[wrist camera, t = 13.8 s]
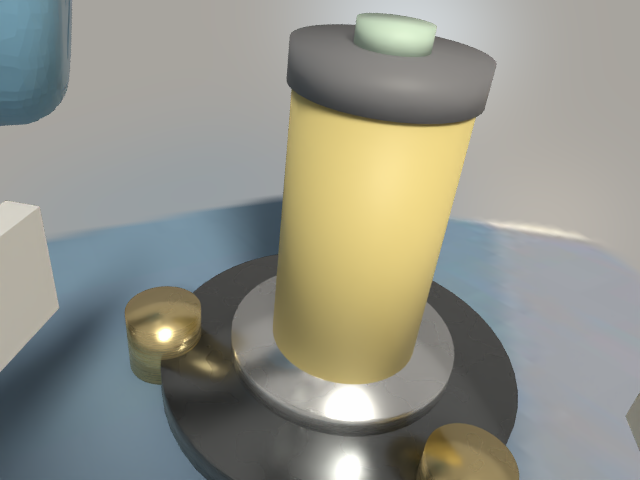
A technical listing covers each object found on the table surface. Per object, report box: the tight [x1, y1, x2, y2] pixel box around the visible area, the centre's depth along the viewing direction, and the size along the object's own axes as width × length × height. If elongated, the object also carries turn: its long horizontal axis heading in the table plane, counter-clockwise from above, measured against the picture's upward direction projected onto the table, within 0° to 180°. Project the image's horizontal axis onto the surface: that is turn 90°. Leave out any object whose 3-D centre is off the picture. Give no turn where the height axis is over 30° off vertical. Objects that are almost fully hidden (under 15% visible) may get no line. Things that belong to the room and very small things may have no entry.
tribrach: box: [125, 254, 519, 480], centre depth 26 cm, size 17×18×3 cm
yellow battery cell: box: [273, 13, 496, 384], centre depth 21 cm, size 7×7×13 cm
